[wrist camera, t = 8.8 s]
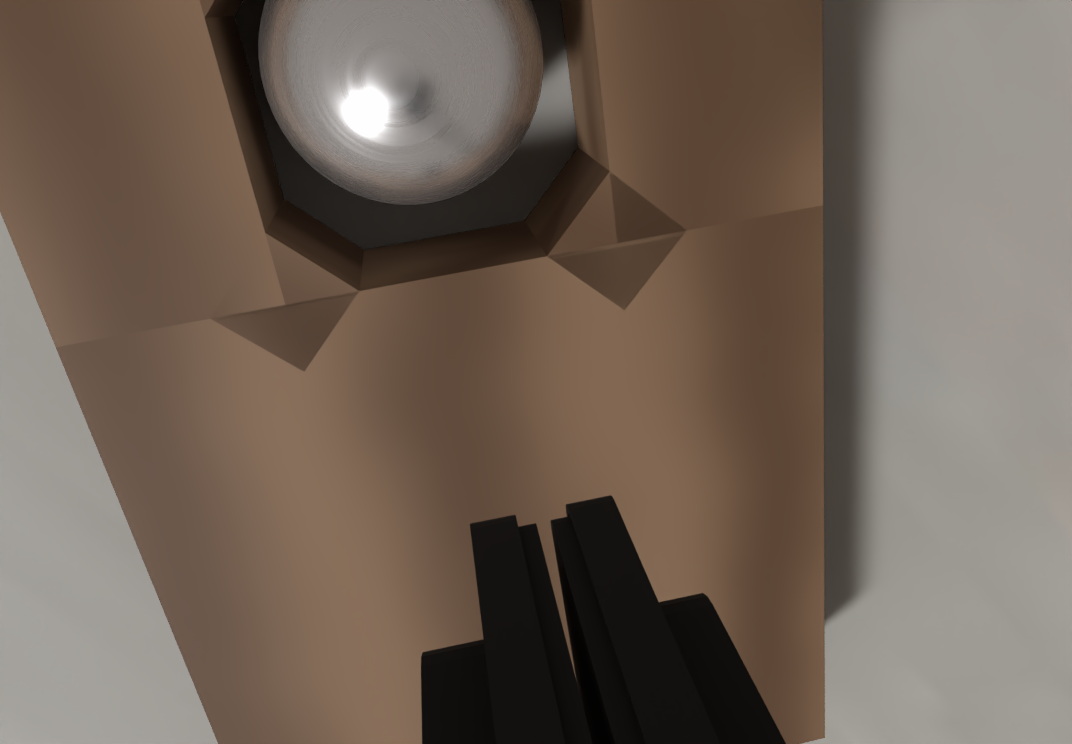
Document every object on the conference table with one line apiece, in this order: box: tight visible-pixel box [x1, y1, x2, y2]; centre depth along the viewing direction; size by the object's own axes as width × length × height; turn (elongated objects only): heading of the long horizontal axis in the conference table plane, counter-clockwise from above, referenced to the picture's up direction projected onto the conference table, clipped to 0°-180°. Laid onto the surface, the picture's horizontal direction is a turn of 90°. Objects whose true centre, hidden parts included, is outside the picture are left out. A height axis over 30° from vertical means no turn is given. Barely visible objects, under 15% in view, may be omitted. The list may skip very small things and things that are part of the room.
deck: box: [0, 0, 825, 744], centre depth 19 cm, size 15×24×3 cm, turn 8°
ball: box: [258, 0, 543, 205], centre depth 15 cm, size 5×5×5 cm
